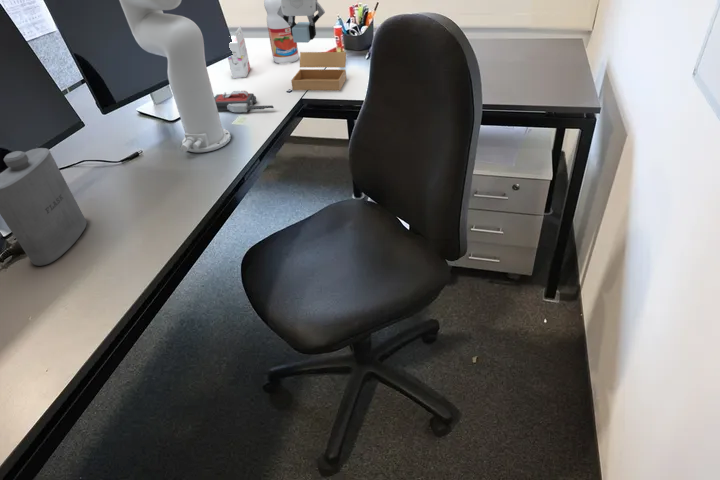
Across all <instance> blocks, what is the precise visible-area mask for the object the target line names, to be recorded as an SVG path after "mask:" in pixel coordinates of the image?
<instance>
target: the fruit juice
mask: <svg viewBox="0 0 720 480" xmlns="http://www.w3.org/2000/svg"><path fill="white" fill-rule="evenodd" d="M280 6H281V0H263V7H264V9H265V12H266V27H267V31H268V37H269V44H270V49H271V50H270V51H271V55H272V59H273V61H274V63H276V64H288V63H290V64H291V63H295V62H296V61H297V60H299V58H300V54H299V49H298V43H294V41H293V36H292V35H291V29H290V26H289V25H288V23H287V22H286V21H285V20H284V19H283V18H282V17H280V16H279V15H278V14H277V12H278V10H279V8H280Z"/></svg>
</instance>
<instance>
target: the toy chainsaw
mask: <svg viewBox="0 0 720 480" xmlns="http://www.w3.org/2000/svg"><path fill="white" fill-rule="evenodd" d="M214 98H215V102H216V106H217V109H218V112H225V111H229V112H232V113H248V111H252V110H253V111H254V110H265V109H274V105H270V104H269V105H254V104H256V103H257V96H256V95H255V94H254V92H253V93H251V92H250V93H249V92H248V91H247V90H233V91H232V92H231V93H227V92H226V91H225V92H224V93H220V94H218V93H217V94H216V95H214Z"/></svg>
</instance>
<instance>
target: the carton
mask: <svg viewBox="0 0 720 480" xmlns="http://www.w3.org/2000/svg"><path fill="white" fill-rule="evenodd" d="M346 80H347V69H339V68H338V69H333V68H331V69H330V68H329V69H328V68H327V69H326V68H325V69H324V68H322V69H317V68H316V69H313V68H312V69H310V68H309V69H307V68H305V69H303V68H302V69H301V68H300V69H299V70H298V71H297V72H296V73H295V75H294V76H293V78H292V79H291V80H290V81H291V88H292V91H341V89H342V88H343V86H344V84H345V82H346Z"/></svg>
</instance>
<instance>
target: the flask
mask: <svg viewBox="0 0 720 480" xmlns="http://www.w3.org/2000/svg"><path fill="white" fill-rule="evenodd" d="M3 162H4V163H5V165H6V167H7V168H6V169H5V170H3V171H2V172H0V217H1V218H2V220H3V221H4V222H5V224H6V225H7V227H8V228H9V230H10V232H11V233H12V235H13V236H14V238H15V239H16V241H17V242H18V244H19V245H20V247H21V249H22V250H23V252H24V253H25V254H26V256H27V258H28V259H29V261H30V262H31V264H32V265H34V266H40V267H41V266H47V265H50V264H52V263H53V262H55V261H56V260H58V259H60V258H61V257H62V256H63V255H64V254H65V253H66V252H67V251H68V250H70V248H72V246H73V245H75V243H76V242H77V241H78V239H79V238H80V237H81V236H82V234H83V232H84V231H85V229H86V228H87V225H88V224H87V222H88V221H87V219H86V218H85V216H84V214H83V212H82V210H81V208H80V206H79V204H78V202H77V200H76V198H75V197H74V195H73V192H72V191H71V189H70V188H69V185H68V183H67V182H66V179H65V178H64V176H63V173H62V172H61V170H60V168H59V166H58V164H57V162H56V160H55V159H54V156H53V154H52V153H51V151H50V149H49V148H46V147H36V148H31V149H29V150H27V151H21V150H16V151H12V152H9V153H7V154H6V155H5V156H4V158H3Z"/></svg>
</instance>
